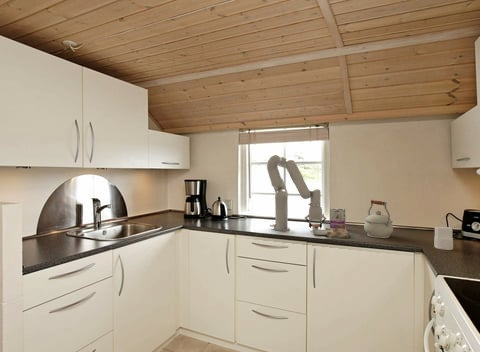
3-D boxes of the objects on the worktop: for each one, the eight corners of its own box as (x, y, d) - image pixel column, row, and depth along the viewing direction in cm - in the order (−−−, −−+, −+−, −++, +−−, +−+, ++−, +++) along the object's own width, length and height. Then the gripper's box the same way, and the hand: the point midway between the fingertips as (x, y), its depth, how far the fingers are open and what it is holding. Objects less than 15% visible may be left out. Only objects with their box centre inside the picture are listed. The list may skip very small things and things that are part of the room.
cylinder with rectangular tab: (445, 245, 170) (445, 226, 170) (457, 249, 161) (457, 229, 161) (430, 245, 170) (430, 226, 170) (441, 249, 161) (441, 229, 161)
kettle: (401, 239, 188) (401, 202, 188) (376, 240, 185) (376, 202, 185) (377, 231, 213) (377, 199, 213) (355, 232, 210) (355, 199, 210)
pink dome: (310, 227, 213) (310, 224, 213) (310, 225, 220) (310, 223, 220) (320, 227, 211) (320, 225, 211) (319, 225, 218) (319, 223, 218)
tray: (313, 234, 197) (313, 229, 197) (312, 230, 210) (312, 226, 210) (334, 235, 194) (334, 230, 194) (332, 231, 207) (332, 226, 207)
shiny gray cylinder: (312, 231, 214) (312, 226, 214) (312, 230, 218) (312, 225, 218) (318, 231, 213) (318, 226, 213) (318, 230, 217) (318, 225, 217)
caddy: (327, 236, 194) (327, 231, 194) (325, 232, 208) (325, 228, 208) (348, 237, 192) (348, 232, 192) (345, 233, 205) (345, 228, 205)
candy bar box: (345, 229, 223) (345, 208, 223) (344, 230, 219) (344, 209, 219) (331, 227, 228) (331, 207, 228) (329, 228, 224) (330, 208, 224)
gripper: (304, 205, 214) (304, 228, 214) (327, 206, 210) (327, 229, 210) (303, 204, 221) (303, 226, 221) (326, 204, 217) (326, 227, 217)
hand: (315, 228), depth 215 cm, fingers closed on pink dome, 7 cm apart
